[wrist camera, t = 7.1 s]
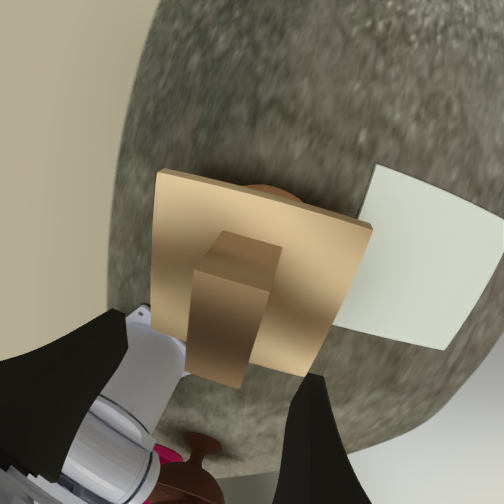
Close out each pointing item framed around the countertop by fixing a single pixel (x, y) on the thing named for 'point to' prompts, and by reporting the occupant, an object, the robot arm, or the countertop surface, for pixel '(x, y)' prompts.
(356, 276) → the mat
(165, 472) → the ice cream bowl
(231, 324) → the lid
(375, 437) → the countertop surface
